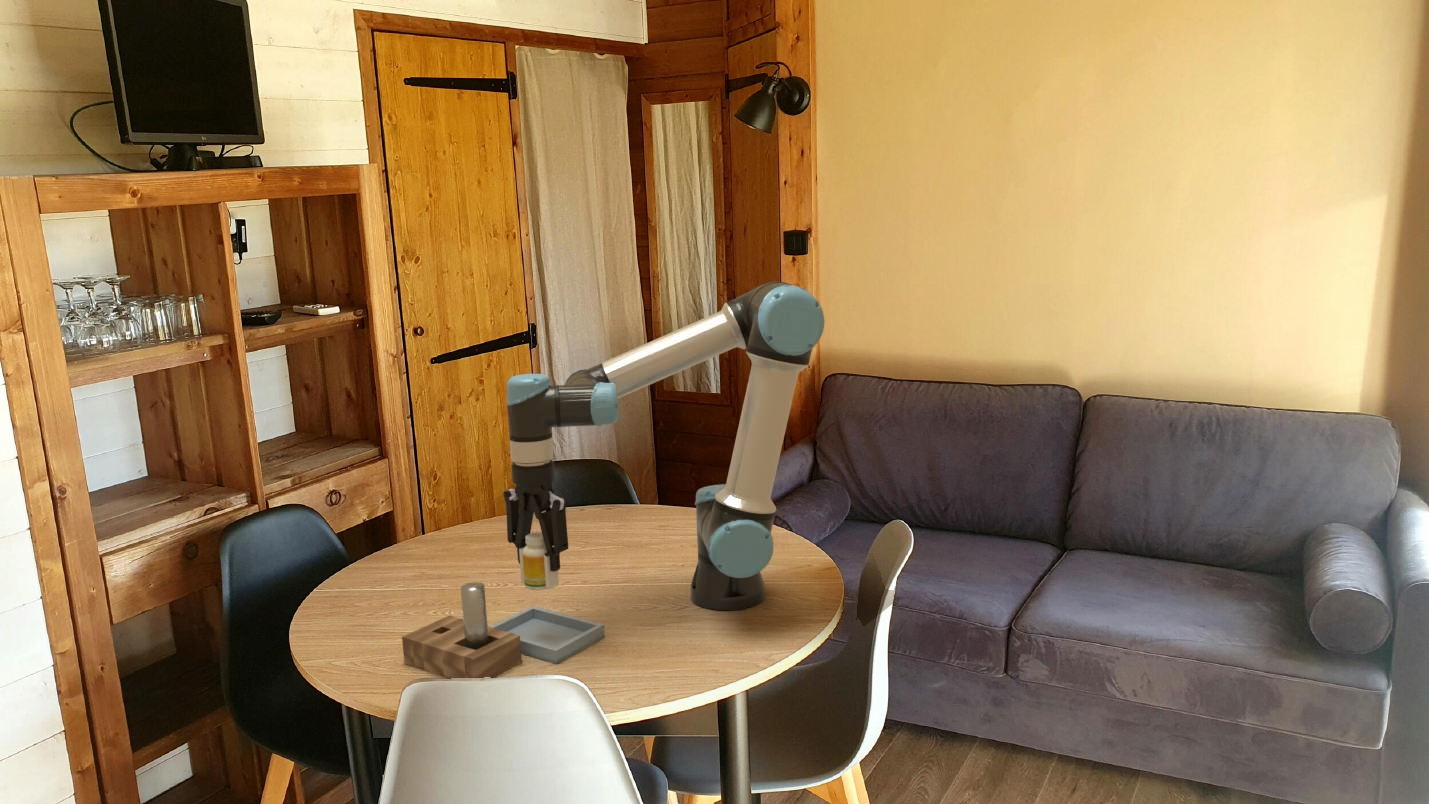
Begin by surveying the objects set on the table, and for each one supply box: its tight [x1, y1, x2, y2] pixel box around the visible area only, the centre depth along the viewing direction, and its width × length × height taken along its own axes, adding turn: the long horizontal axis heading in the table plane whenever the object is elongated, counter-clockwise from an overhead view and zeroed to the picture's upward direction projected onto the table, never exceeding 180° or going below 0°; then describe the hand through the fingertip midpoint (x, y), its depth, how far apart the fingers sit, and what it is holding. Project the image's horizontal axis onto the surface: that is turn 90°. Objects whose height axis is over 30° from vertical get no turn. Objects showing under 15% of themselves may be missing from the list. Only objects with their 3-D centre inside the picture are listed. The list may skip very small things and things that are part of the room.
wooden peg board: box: [401, 614, 523, 679], centre depth 183 cm, size 18×11×5 cm, turn 56°
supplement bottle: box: [523, 531, 547, 591], centre depth 189 cm, size 5×5×10 cm
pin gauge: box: [460, 581, 489, 650], centre depth 180 cm, size 4×4×15 cm
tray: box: [489, 605, 606, 665], centre depth 192 cm, size 18×13×2 cm
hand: (540, 583), depth 190 cm, fingers closed on supplement bottle, 5 cm apart
